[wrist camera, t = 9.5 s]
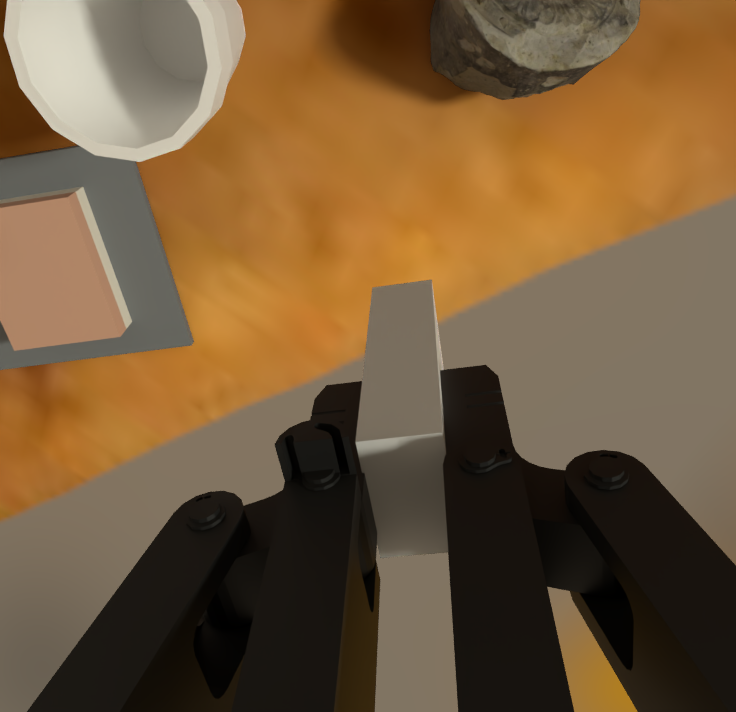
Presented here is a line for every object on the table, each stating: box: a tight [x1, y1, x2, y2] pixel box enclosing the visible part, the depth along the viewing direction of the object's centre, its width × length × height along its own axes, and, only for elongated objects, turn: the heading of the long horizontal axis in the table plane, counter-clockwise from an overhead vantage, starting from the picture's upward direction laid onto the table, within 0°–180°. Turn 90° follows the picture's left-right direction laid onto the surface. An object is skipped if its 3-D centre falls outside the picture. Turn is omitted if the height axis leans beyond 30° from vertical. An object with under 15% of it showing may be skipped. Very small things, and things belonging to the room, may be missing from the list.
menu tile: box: [0, 187, 132, 351], centre depth 48 cm, size 10×2×8 cm
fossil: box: [430, 0, 640, 100], centre depth 38 cm, size 11×9×10 cm
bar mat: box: [0, 145, 194, 370], centre depth 50 cm, size 15×18×1 cm
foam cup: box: [4, 0, 246, 162], centre depth 36 cm, size 10×9×13 cm
